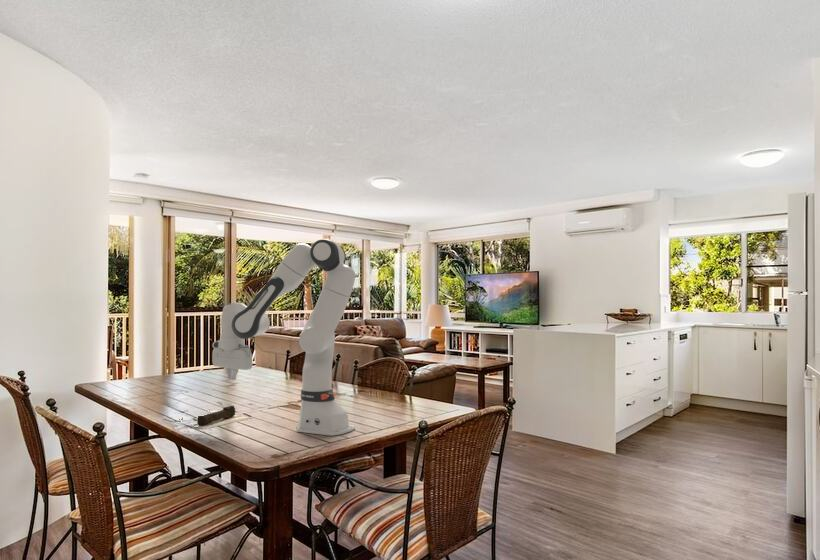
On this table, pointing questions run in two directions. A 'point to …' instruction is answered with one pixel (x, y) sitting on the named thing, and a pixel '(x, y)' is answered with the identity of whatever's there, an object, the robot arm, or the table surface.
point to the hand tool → (216, 416)
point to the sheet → (221, 420)
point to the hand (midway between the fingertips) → (231, 379)
